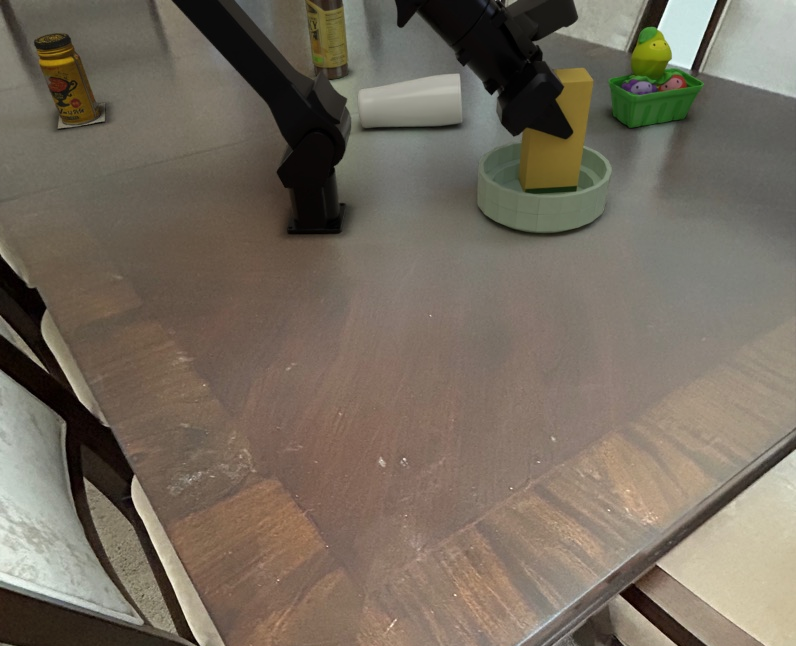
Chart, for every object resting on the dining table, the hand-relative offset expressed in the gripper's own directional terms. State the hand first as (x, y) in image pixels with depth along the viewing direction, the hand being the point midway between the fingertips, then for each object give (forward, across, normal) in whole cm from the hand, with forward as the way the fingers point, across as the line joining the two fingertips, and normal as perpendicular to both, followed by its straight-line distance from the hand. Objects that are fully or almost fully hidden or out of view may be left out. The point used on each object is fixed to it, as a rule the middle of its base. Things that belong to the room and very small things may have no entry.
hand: (565, 127), depth 73 cm
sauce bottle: (-13, +54, +27) cm, 62 cm away
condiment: (-41, +41, +56) cm, 81 cm away
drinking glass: (-11, +29, +22) cm, 38 cm away
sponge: (+4, 0, +6) cm, 7 cm away
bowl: (+6, +2, +8) cm, 10 cm away
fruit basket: (+21, +27, -6) cm, 35 cm away
